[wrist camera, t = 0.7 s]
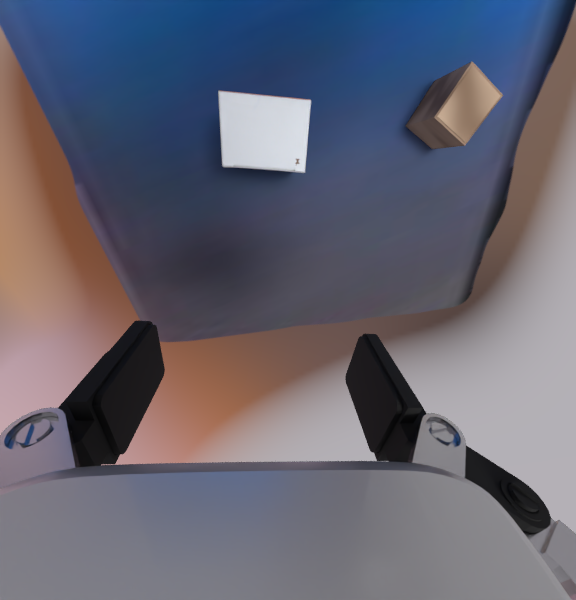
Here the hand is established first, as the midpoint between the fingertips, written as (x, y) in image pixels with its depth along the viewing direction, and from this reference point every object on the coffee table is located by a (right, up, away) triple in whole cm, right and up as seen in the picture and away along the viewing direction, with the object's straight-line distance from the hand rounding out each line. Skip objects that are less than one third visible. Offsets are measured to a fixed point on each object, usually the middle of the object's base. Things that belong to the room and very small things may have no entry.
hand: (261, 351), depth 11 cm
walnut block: (+20, +26, +19) cm, 37 cm away
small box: (-1, +22, +19) cm, 29 cm away
